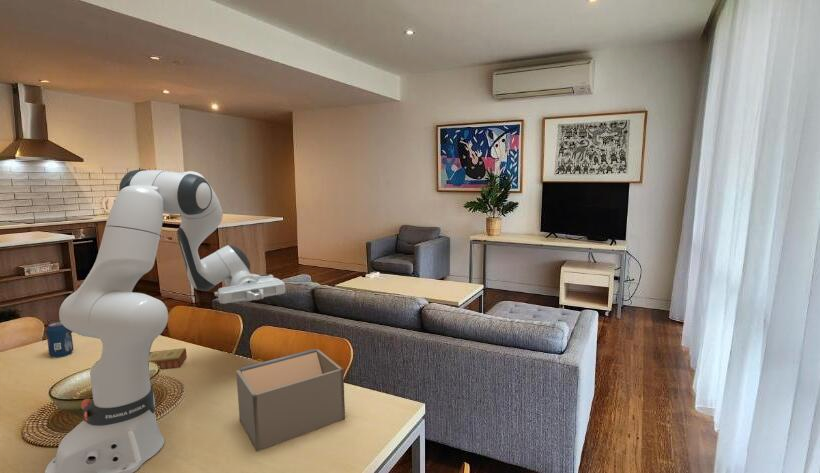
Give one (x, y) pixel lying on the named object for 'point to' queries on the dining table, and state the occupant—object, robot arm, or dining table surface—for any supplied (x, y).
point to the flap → (282, 371)
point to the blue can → (59, 340)
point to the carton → (168, 358)
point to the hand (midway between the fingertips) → (258, 296)
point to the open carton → (292, 406)
